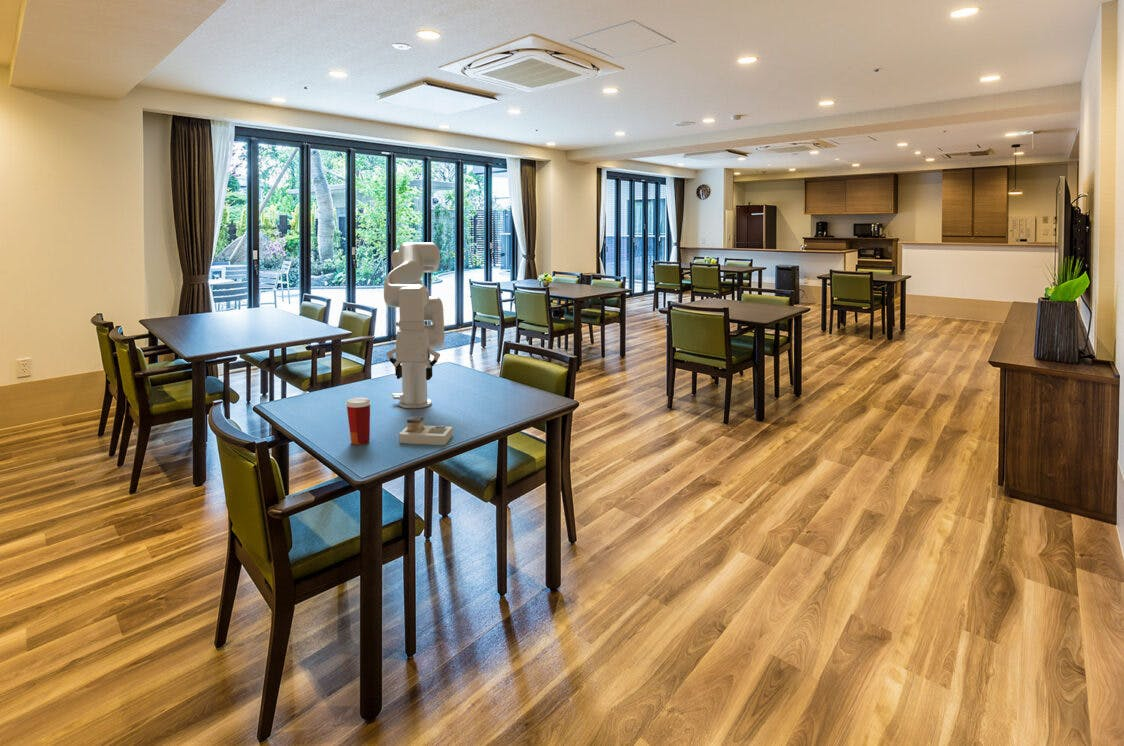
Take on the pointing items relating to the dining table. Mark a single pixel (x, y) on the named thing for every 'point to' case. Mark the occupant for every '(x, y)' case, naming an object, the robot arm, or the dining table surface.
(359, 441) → the paper cup
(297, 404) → the dining table surface
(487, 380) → the dining table surface
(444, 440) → the socket block
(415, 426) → the plug
